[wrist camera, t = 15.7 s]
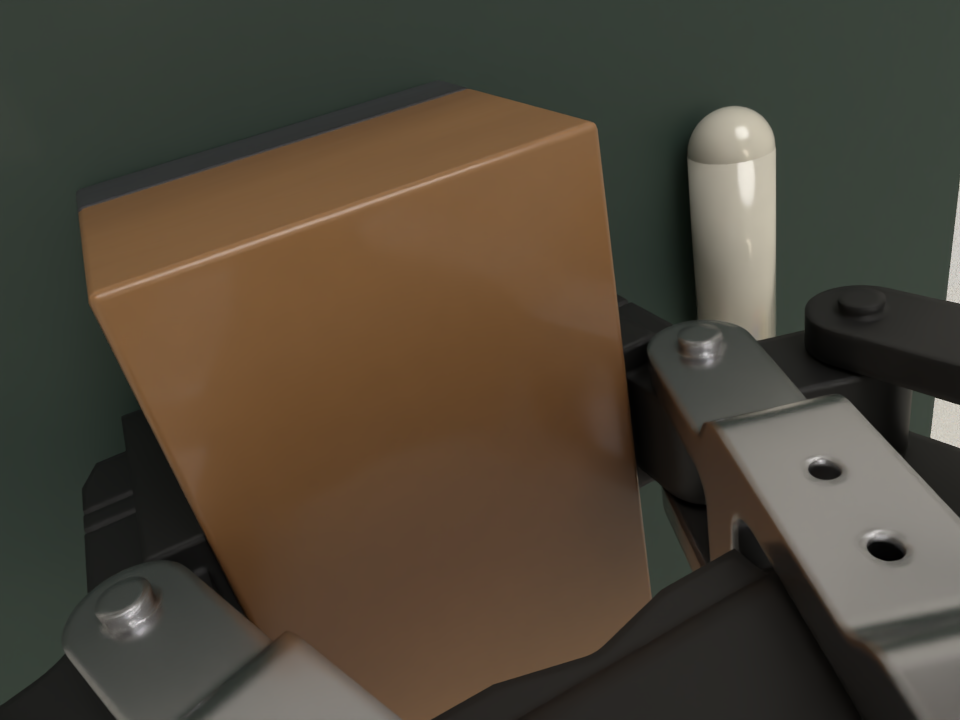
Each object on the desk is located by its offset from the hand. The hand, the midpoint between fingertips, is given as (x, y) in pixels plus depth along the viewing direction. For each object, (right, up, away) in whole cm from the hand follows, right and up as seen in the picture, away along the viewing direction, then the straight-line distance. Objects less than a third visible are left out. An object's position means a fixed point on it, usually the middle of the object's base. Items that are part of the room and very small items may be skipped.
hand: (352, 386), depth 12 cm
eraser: (0, 0, 0) cm, 0 cm away
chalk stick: (+6, +2, +1) cm, 7 cm away
